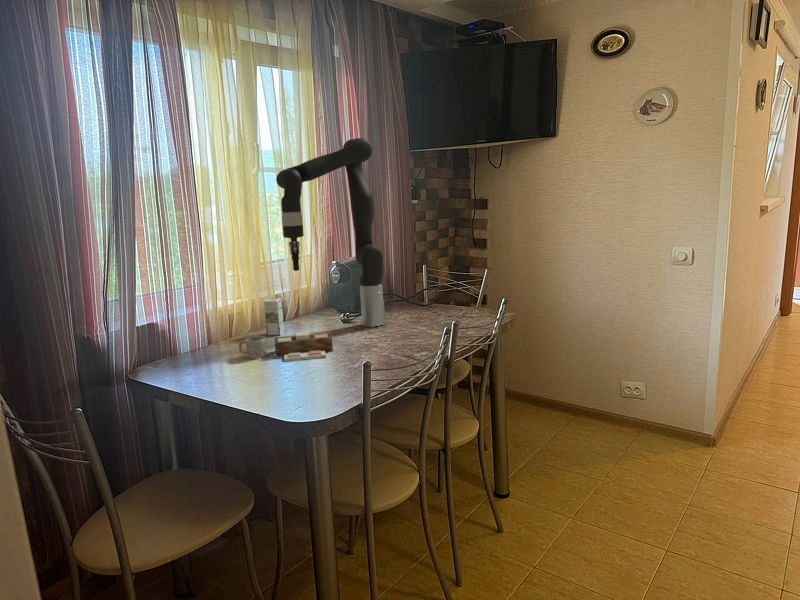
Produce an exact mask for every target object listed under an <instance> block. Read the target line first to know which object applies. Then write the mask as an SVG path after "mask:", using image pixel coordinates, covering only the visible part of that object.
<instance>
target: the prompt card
mask: <svg viewBox="0 0 800 600" xmlns="http://www.w3.org/2000/svg"><path fill="white" fill-rule="evenodd" d="M283 357H284V362H285V361H286V362H293V361H294V360H296V361H303V359H306V360H313V358H315V359H323V358H322V357H325V358H327V355H326V352H325V351H321V350H317V351H309V352H306V353H300V352H297V353H289V354H287V355H284V356H283Z"/></svg>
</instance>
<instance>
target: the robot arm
mask: <svg viewBox="0 0 800 600" xmlns="http://www.w3.org/2000/svg"><path fill="white" fill-rule="evenodd" d="M372 154H373V146H372V144H371V142H370V141H369V140H367V139H366V138H362V137H357V138H351V139H348V140H346V141H345V143H344V144H343V145H342V148H341V149H339V150H336V151H333V152H330V153H328V154H327V153H326V154H323V155H320V156H317V157H314V158H312V159H310V160H307V161H304V162H303V163H301V164H298V165H295V166H291V167H288V168H287V167H286V168H285V169H282V170H281V171H279V172H278V173H277V175H276V178H275V180H276V183H277V186H279V187H280V188H281V189H283V196H282V198H281V199H280V200H281V201H280V202H281V203H280V205H281V225H282V227H281V228H282V236H283V238H286V239H290V241H289V242H288V247H289V251H290V256H291V261H292V269H293V271H294V272H295V271H296V272H297V271H299V270H300V262H299V261H300V253H301V252H300V245H301V243H300V241H298V238H303V237H304V223H303V222H304V221H303V215H302V214H303V213H302V205H301V197H302V187H303V183H305V182H310V181H313V180H315V179H318V178H321V177H323V176H326V175H327V174H330V173H331V172H334V171H336V170H339V169H340V168H343V167H345V171H346V176H347V182H348V183H347V185H348V192H349V198H350V200H349V201H350V208H351V210H350V211H351V215H352V223H353V229H354V230H353V231H354V250H355V251H354V253H355V254H354V255H355V260H356V262H357V263H358V265H359V266H361V267H362V275H361V277H359V293H360V294H359V295H360V296H359V297H360V308H361V309H360V310H361V312H360V313H361V325H363V327H365V326H366V327H365V328H376V327H375V326H378V327H381V326H380V325H382V326H385V325H386V314H385V313H386V312H385V310H386V309H385V302H384V295H383V294H384V292H383V278H384V255H383V251H382V250H381V248H380V247H378V246H376V245H374V243H373V235H372V231H373V230H372V229H373V223H374V217H375V202H374V197H373V196H374V195H373V193H372V190H371V188H370V186H369V184H368V182H367V180H366V177H365V175H364V165H363V163H364V162H366V161H368V160H369V159H370V158H371V156H372Z"/></svg>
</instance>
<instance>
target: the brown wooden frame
mask: <svg viewBox="0 0 800 600" xmlns="http://www.w3.org/2000/svg"><path fill="white" fill-rule="evenodd" d="M319 334H328V337H326V338H315V339H314V335H319ZM287 337H291V340H292V341H285V342H278V338H287ZM333 347H334V346H333V337H332V334H331V332H330V331H329V332H321V333H320V332H319V333H318V332H317V333H310V339H305V340H296V335H288V336H287V335H286V336H279V337H277V336H276V337H275V336H274V353H275V358H280V357H281V356H282V357H284V355H287V354H289V353H297V352H300V353H306V352H309V351H317V350H321V351H325V353H330V351H331V352H334V348H333ZM282 357H281V358H282Z"/></svg>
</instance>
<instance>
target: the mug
mask: <svg viewBox="0 0 800 600" xmlns="http://www.w3.org/2000/svg"><path fill="white" fill-rule="evenodd" d="M243 344H245V350H246V351H245V350H243V346H242V345H243ZM238 350H239V352H240V354H243V355H246V359H247V360H260V359H259V358H261V359H264V358H266V357H267V356H266V355H267V348H266V338H265V336H263V335H254V336H253V335H252V336H249V337H247V338H245V339H244V340H243V339H241V340H240V341H238ZM263 357H264V358H263Z"/></svg>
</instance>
